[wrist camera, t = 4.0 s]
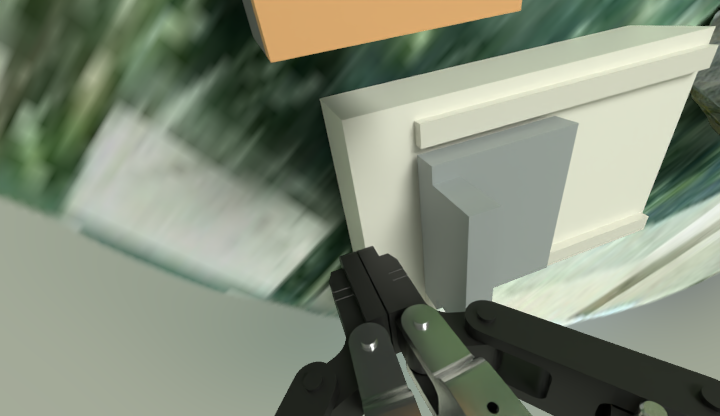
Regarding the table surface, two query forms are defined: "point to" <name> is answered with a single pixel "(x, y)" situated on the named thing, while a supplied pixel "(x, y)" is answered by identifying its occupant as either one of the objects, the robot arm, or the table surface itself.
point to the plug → (354, 21)
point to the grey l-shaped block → (491, 209)
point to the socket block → (512, 109)
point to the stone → (710, 82)
